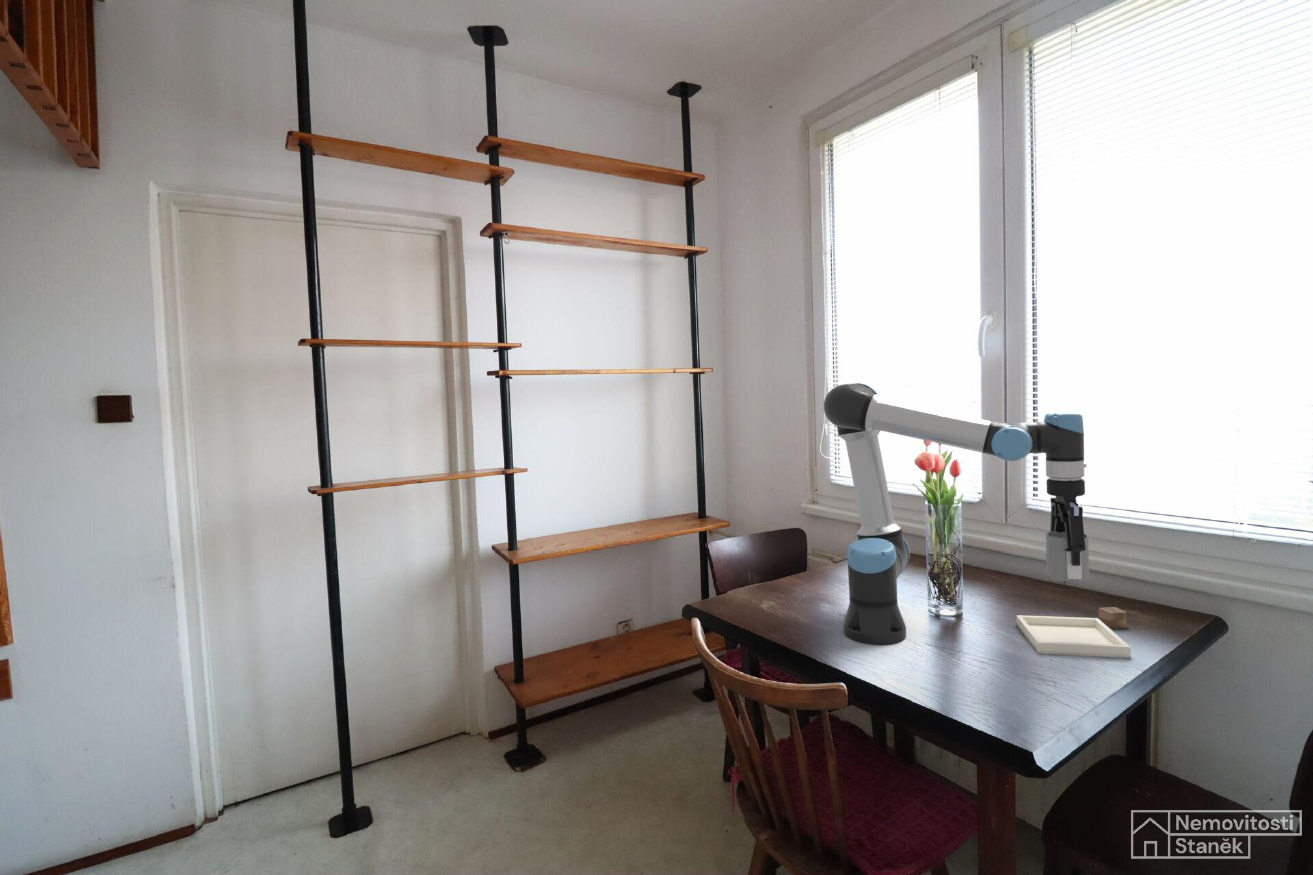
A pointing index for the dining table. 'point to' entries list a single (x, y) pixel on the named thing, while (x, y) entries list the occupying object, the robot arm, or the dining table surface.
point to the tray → (1072, 636)
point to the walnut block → (1113, 617)
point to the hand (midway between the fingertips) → (1067, 572)
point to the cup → (1063, 557)
